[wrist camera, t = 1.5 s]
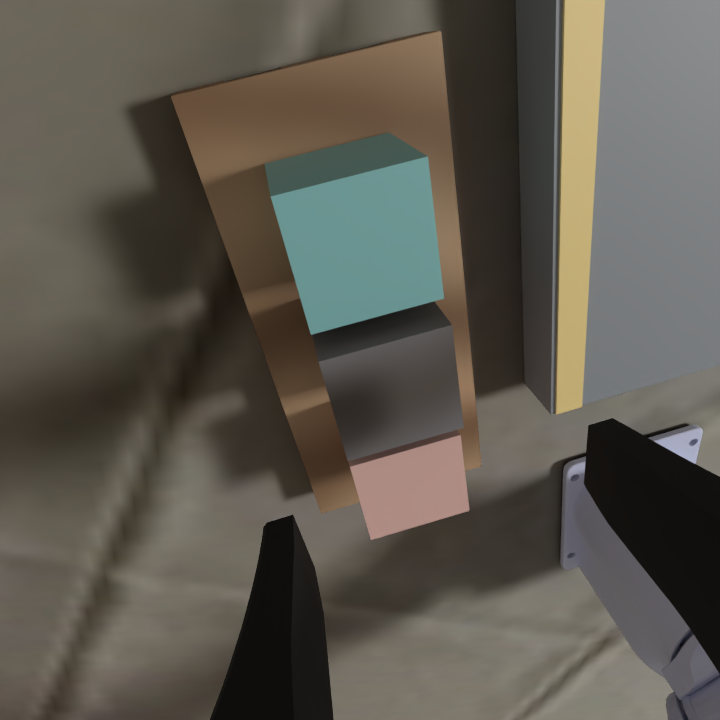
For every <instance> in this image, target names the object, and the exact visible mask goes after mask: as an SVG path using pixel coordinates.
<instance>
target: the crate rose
mask: <svg viewBox="0 0 720 720" xmlns="http://www.w3.org/2000/svg"><path fill="white" fill-rule="evenodd" d="M349 465H350V469H351V472H352V476H353V479H354V483H355V486H356V490H357V493H358V497H359V500H360V504H361V507H362V510H363V514H364V517H365V521H366V524H367V528H368V531H369V535H370V538H371V540H373V539H376V538H380V537H383V536H386V535H390V534H393V533H396V532H400V531H403V530H407V529H410V528H413V527H417V526H420V525H423V524H427V523H430V522H433V521H437V520H440V519H444V518H447V517H450V516H454V515H457V514H460V513H464V512H467V511H469V502H468V494H467V485H466V476H465V468H464V459H463V451H462V442H461V435H460V433H459V431H458V430H455V431H451V432H448V433H444V434H441V435H437V436H434V437H430V438H427V439H424V440H420V441H417V442H413V443H410V444H406V445H403V446H399V447H396V448H392V449H389V450H386V451H382V452H379V453H375V454H372V455H368V456H365V457H361V458H358V459H355V460H351V461H349Z"/></svg>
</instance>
